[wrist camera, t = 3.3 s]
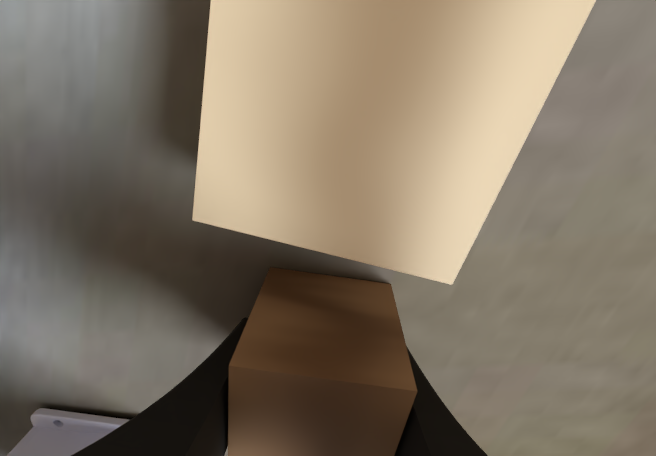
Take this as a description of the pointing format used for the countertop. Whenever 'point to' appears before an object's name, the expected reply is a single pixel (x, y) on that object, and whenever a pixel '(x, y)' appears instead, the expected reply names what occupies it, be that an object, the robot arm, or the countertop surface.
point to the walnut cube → (320, 370)
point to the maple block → (372, 120)
